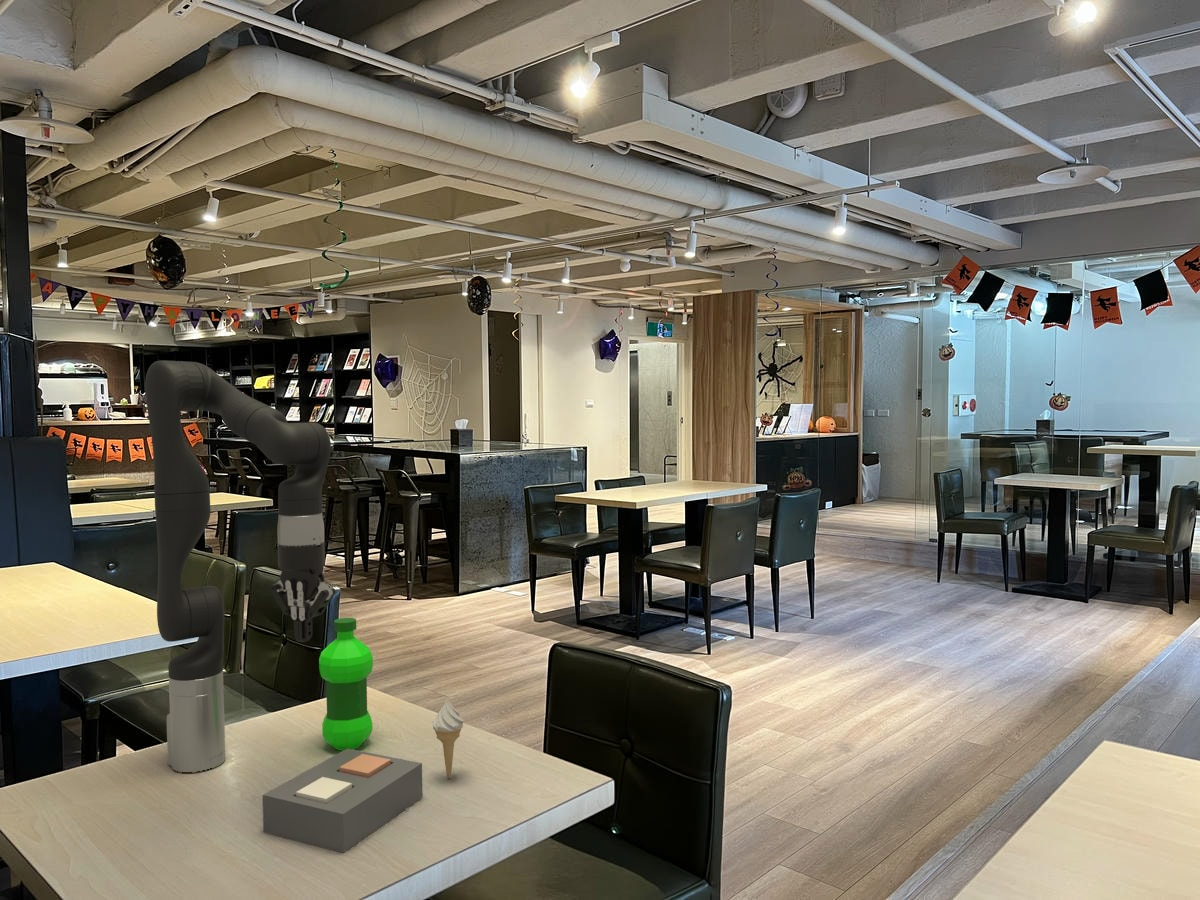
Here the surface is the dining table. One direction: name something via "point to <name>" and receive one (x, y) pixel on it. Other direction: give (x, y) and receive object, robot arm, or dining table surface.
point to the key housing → (342, 803)
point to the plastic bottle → (346, 687)
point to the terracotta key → (365, 765)
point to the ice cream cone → (448, 731)
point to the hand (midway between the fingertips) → (303, 640)
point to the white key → (324, 790)
